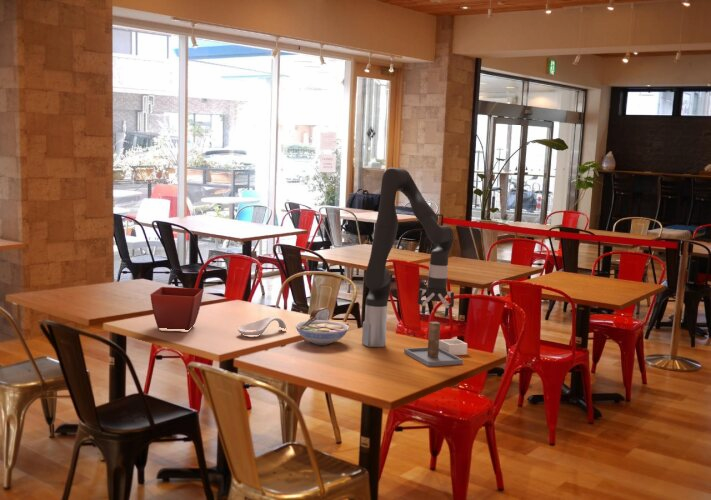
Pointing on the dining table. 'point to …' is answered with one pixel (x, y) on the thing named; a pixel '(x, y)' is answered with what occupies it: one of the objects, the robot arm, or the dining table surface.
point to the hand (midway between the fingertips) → (434, 316)
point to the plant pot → (176, 307)
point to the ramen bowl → (321, 331)
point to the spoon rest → (259, 326)
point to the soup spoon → (320, 314)
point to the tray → (442, 359)
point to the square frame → (453, 346)
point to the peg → (433, 339)
